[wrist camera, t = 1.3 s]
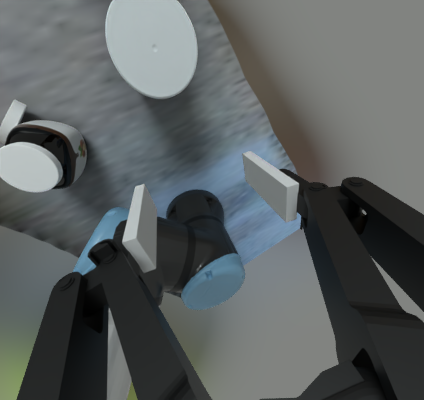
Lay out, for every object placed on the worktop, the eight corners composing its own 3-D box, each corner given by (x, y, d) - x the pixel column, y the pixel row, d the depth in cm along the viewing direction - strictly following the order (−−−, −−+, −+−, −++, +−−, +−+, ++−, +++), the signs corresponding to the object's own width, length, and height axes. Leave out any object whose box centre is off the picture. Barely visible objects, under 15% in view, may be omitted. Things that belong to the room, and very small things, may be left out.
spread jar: (89, 175, 37) (66, 204, 28) (19, 165, 33) (-38, 196, 24) (87, 113, 32) (56, 123, 22) (2, 93, 28) (-80, 94, 18)
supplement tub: (111, 57, 29) (77, 34, 17) (151, 8, 27) (145, -58, 15) (159, 108, 34) (159, 118, 22) (194, 69, 32) (216, 56, 20)
